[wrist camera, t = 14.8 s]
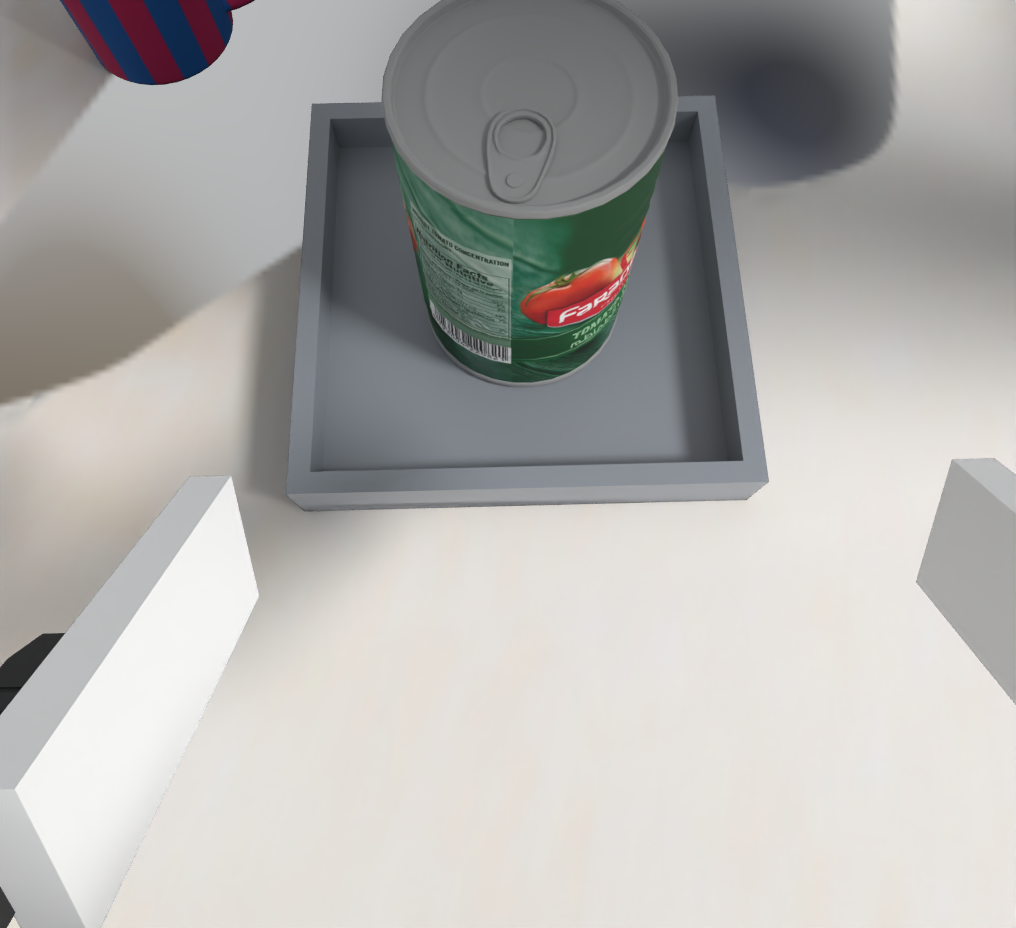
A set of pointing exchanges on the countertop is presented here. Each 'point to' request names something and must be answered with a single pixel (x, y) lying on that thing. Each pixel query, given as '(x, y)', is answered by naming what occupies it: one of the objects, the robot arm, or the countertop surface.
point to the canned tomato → (527, 173)
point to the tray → (503, 409)
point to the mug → (155, 35)
